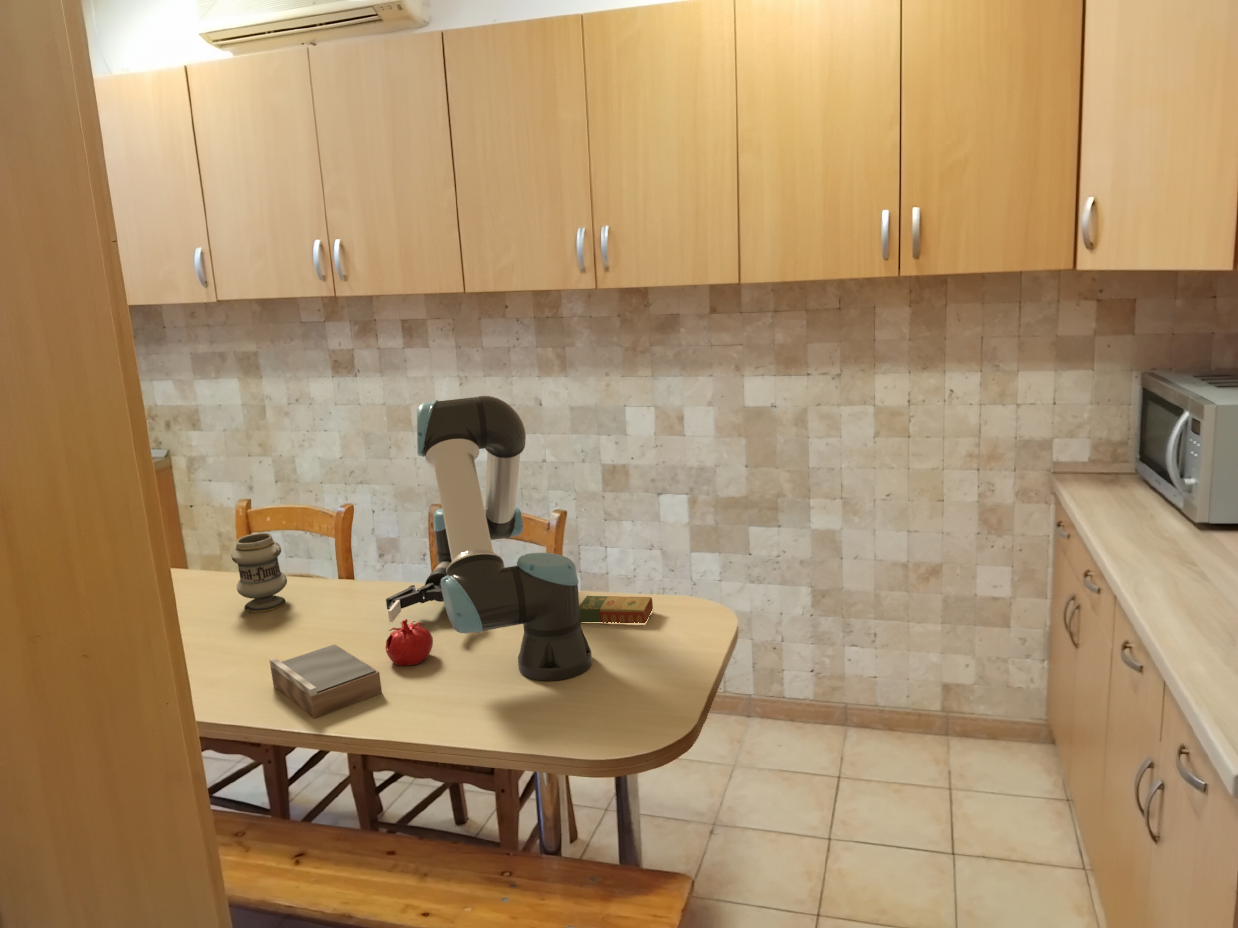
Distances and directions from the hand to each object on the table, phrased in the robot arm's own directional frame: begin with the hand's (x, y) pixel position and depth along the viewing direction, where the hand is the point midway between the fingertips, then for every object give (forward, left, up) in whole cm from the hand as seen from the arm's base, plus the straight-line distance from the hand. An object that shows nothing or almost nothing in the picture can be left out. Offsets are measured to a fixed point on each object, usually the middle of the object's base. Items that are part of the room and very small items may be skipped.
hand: (420, 615), depth 210 cm
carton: (-23, -37, -7) cm, 44 cm away
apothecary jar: (+52, +16, -6) cm, 55 cm away
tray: (-7, +26, -6) cm, 27 cm away
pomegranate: (-7, +7, -6) cm, 11 cm away
